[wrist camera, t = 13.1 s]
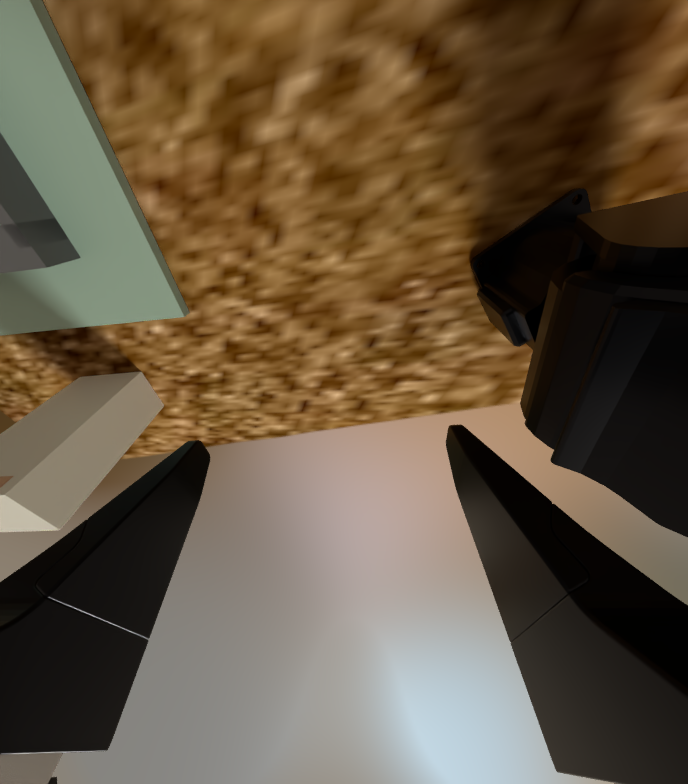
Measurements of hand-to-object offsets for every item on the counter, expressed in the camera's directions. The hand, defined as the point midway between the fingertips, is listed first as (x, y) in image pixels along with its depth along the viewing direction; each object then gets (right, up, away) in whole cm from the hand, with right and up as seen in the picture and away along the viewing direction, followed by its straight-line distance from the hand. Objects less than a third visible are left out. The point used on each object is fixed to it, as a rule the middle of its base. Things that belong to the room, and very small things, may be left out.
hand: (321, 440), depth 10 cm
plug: (-20, +2, +16) cm, 25 cm away
